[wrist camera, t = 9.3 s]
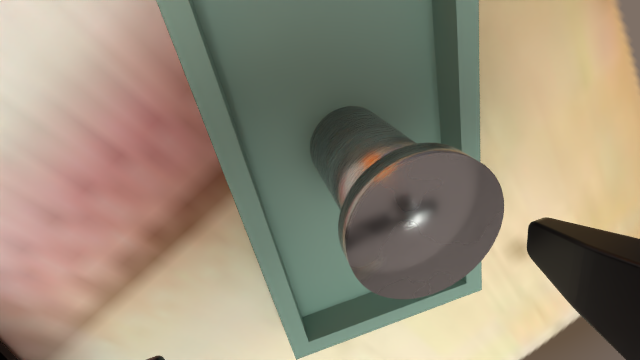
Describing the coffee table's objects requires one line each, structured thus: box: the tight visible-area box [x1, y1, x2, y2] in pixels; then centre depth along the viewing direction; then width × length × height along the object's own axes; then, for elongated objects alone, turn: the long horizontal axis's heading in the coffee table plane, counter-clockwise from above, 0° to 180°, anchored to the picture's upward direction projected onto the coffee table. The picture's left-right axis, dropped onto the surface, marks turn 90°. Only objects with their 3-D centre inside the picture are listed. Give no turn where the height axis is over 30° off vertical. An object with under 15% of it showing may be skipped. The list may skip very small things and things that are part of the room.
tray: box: [156, 0, 482, 360], centre depth 18 cm, size 22×12×2 cm, turn 13°
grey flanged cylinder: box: [310, 106, 504, 299], centre depth 15 cm, size 5×5×8 cm
